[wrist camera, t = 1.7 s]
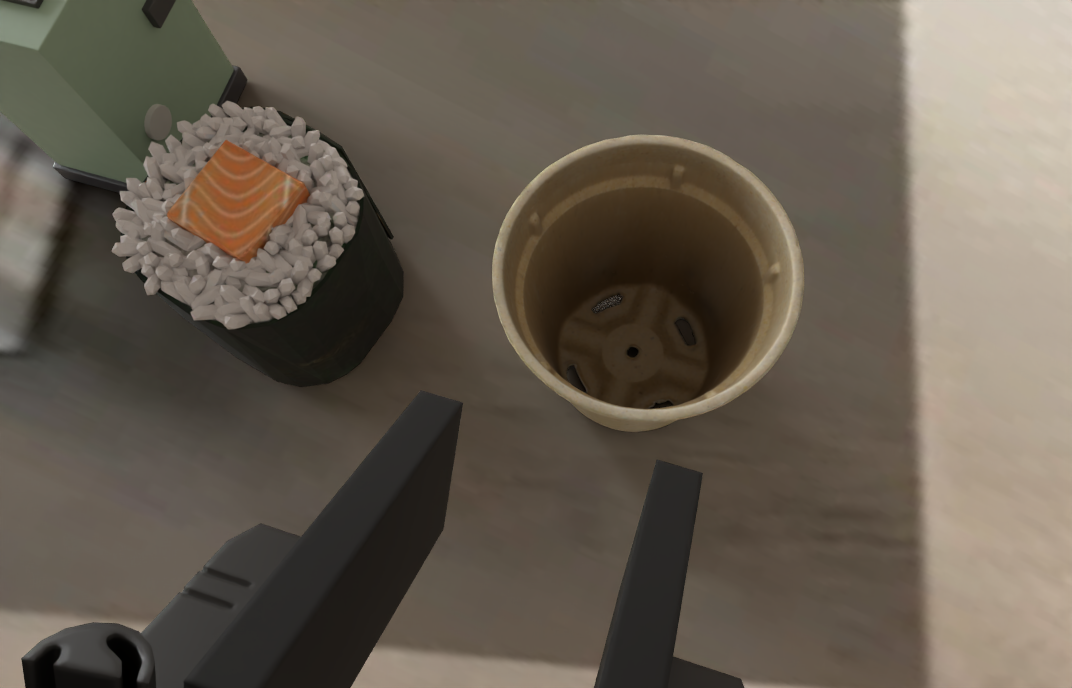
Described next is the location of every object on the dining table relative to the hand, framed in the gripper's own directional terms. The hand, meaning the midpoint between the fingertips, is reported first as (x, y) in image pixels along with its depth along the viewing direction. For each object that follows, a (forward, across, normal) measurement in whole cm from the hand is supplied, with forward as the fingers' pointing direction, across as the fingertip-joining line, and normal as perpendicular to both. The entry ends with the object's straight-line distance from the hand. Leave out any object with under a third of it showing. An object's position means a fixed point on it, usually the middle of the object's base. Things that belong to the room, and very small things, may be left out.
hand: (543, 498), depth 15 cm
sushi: (+19, -14, -7) cm, 24 cm away
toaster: (+22, -24, -3) cm, 33 cm away
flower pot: (+19, 0, -7) cm, 20 cm away
